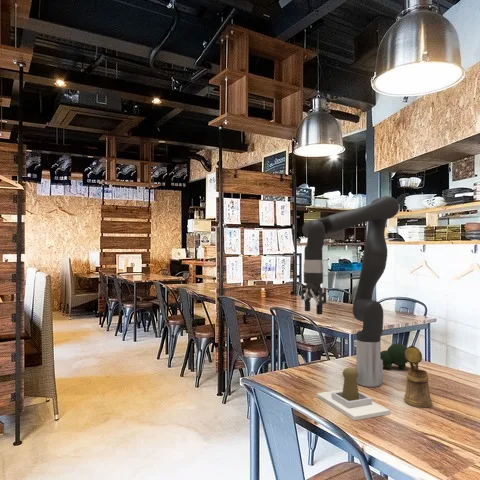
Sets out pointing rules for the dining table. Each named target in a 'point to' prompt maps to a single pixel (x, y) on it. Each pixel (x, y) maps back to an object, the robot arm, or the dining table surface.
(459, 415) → the dining table surface
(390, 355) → the toy figurine
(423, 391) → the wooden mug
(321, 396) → the board
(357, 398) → the olive tall rounded piece
